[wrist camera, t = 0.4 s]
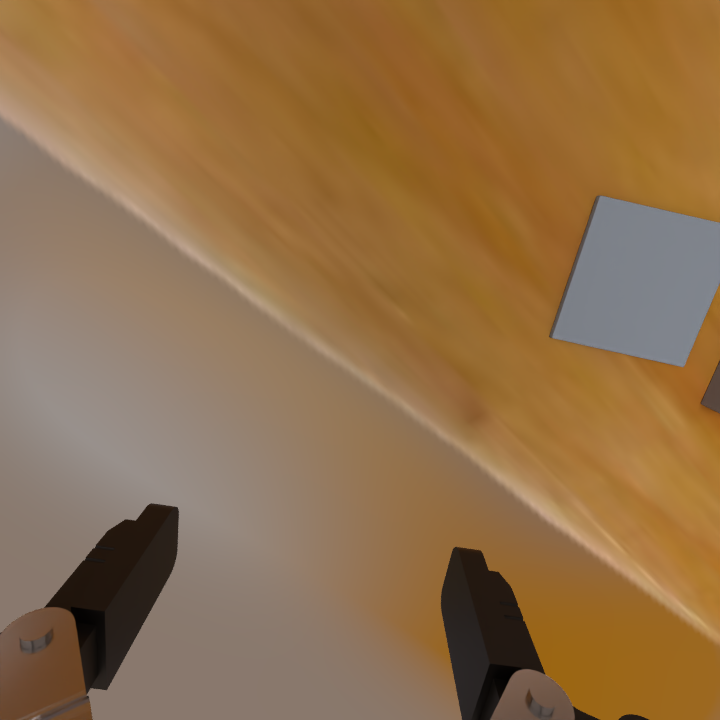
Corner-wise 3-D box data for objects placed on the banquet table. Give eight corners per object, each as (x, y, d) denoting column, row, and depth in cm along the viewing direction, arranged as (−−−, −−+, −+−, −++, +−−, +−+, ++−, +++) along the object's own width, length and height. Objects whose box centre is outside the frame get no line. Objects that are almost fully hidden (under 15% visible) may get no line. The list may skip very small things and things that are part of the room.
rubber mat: (596, 196, 36) (600, 195, 36) (737, 228, 37) (742, 228, 36) (549, 336, 40) (552, 337, 39) (679, 365, 40) (683, 367, 39)
